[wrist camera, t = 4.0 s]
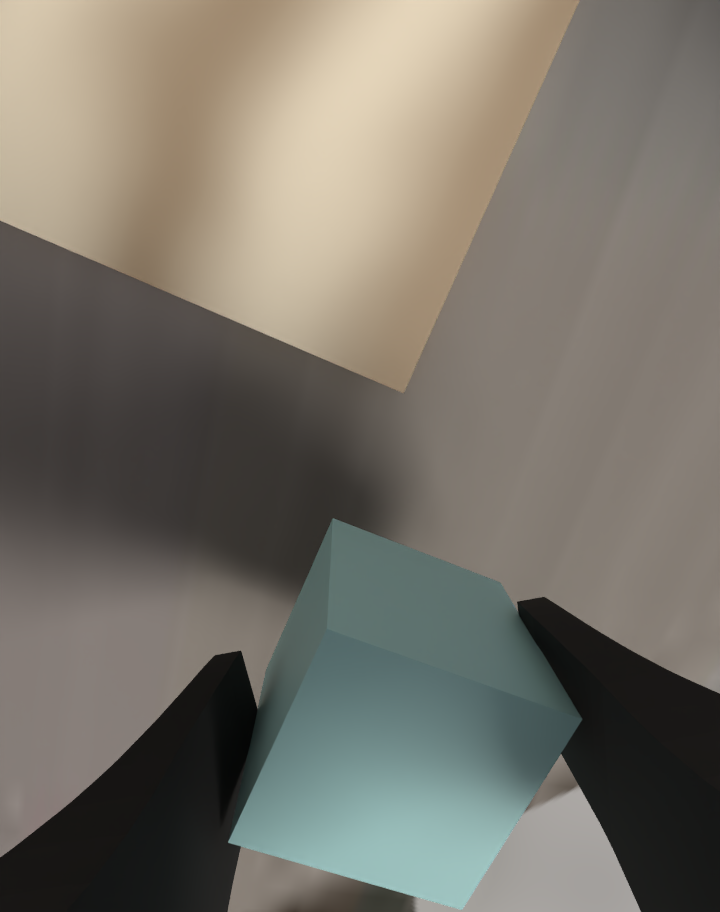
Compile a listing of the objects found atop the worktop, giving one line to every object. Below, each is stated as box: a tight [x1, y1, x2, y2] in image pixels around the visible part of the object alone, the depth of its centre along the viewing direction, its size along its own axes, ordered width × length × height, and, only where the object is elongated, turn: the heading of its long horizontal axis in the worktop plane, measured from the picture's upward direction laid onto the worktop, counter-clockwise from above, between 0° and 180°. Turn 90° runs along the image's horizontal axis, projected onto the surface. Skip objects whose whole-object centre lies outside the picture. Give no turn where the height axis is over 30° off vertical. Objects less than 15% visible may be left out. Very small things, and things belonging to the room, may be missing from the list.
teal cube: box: [228, 518, 582, 910], centre depth 11 cm, size 4×4×4 cm
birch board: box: [0, 0, 580, 393], centre depth 12 cm, size 13×13×1 cm
